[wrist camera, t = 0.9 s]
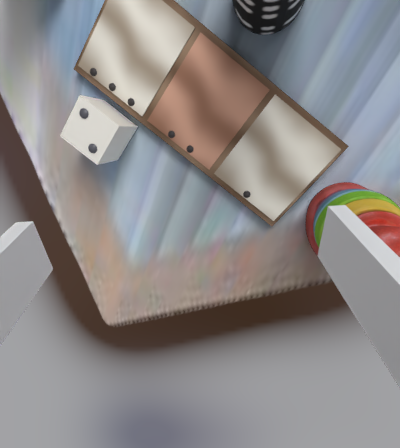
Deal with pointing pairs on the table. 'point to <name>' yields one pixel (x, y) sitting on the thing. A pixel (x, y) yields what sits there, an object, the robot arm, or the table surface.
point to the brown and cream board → (207, 103)
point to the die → (98, 130)
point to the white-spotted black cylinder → (266, 14)
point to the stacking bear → (361, 206)
